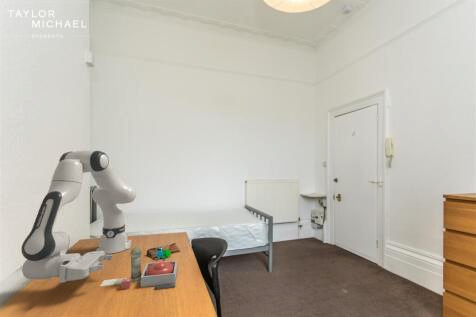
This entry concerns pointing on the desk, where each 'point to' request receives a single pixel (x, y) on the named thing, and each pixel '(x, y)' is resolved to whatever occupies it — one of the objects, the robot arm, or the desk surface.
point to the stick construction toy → (162, 254)
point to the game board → (148, 279)
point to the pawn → (136, 264)
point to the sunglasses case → (171, 248)
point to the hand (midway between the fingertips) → (108, 261)
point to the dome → (160, 268)
